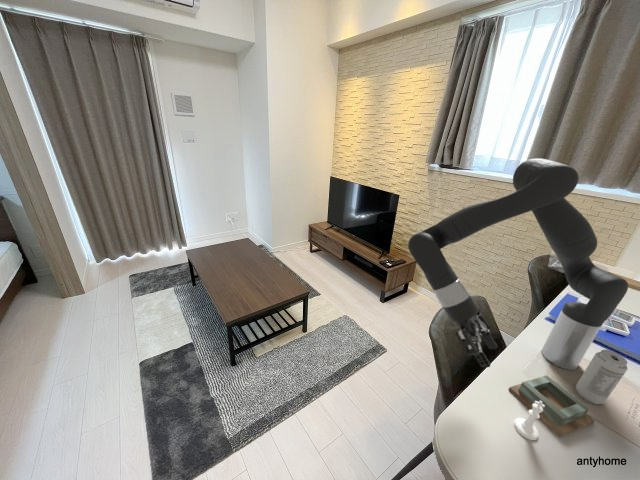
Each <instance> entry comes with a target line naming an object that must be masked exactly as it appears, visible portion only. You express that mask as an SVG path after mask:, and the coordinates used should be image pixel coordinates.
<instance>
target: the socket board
mask: <svg viewBox="0 0 640 480" xmlns="http://www.w3.org/2000/svg"><path fill="white" fill-rule="evenodd" d="M508 390H509V391H510V392H511V393H512V394H513V396H515V397H516V398H517V399H518V400H519V401H520V402H521V403H522V404H523V405H524V406H526V408H527V409H529V410H532V404H533V403H535V400H536V401H538V402H539V401H542V404H544V405H545V407H542V406H541V407H542V408H543V412H541V413H539V416H540V418H539V419H538V420H540V421H542V423H544V424H545V425H546V426H547V427H548V428H549V429H550V430H551V431H552V432H553V433H554V434H555V435H556V436H558V438H559V437H563V436H565V435H567V434H570V433H572V432H574V431H576V430H579V429H583V428H584V427H586V426H589V425H592V424H594V423H595V419H594V418H593V417H591V416H590V415H589V414H588V413H589V411H590V409H591V408H590V407H589V406H587V404H585V403H584V402H582V400H580V399H578V398H577V397H576V396H574V394H572V393H570V392H569V390H567V389H566V388H564V387H563V386H562V385H561V384H559V383H558V382H557V381H555V380H554V379H553V378H552V377H550V376H549V375H548V374H547V375H544V376H540V377H537V378H533V379H530V380H526V381H523V382H521V383H518V384H515V385H512V386H510V387H509V388H508Z"/></svg>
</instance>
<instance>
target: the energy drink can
mask: <svg viewBox="0 0 640 480" xmlns="http://www.w3.org/2000/svg"><path fill="white" fill-rule="evenodd" d="M627 365H628V360H627V359H626V358H625V357H623V356H622V355H620V354H619V353H617V352H615V351H612V350H609V349H602V350H601V351H599V352H598V351H597V352H596V353H595V354H594V355H593V357H592V358H591V360H590V362H589V363H588V366H587V367H586V368H585V370H584V371H583V373H582V375H581V377H580V379H579V380H578V382H577V383H576V384H575V389H576V392H577V394H578V396H580V397H581V398H582V397H583V398H584V399H583V398H582V399H583V400H585V399H586V400H585V401H587V400H588V401H590V402H592V403H591V404H593V403H596V404H595V405H603V404H605V402H606V401H607V399H608V398H609V397H610V395H611V394H612V393H613V391H614V389H615V388H616V386H617V385H618V384H619V382H620V380H621V379H622V378H623V377H624V375H625V374H626V372H627V371H628V366H627ZM588 401H587V402H588ZM590 402H589V403H590Z"/></svg>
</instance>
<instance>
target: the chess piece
mask: <svg viewBox="0 0 640 480" xmlns="http://www.w3.org/2000/svg"><path fill="white" fill-rule="evenodd" d="M541 406H542V407H545V405H544V404H542V401H539V402H538V401H536V400H535V403H533V404H532V410H530V409H529V410H528V412H527V413H528V414H529V416H528V417H527V418H523V417H516V418H515V419H514V420H513V427H514V428H515V430H516V431H517V433H518V434H519V435H521V436H522V437H524V438H526V439H528V440H530V441H537V440H538V438H539V431H538V429H537V428H536V426H535V425H534V423H535V420H536V419H537V420H540V419H539V418H540V416H539V413H541V412H543V408H542V407H541Z"/></svg>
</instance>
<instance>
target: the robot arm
mask: <svg viewBox="0 0 640 480" xmlns="http://www.w3.org/2000/svg"><path fill="white" fill-rule="evenodd" d="M578 183H579V173H578V172H577V170H576V168H574V167H572V166H570V165H568V164H565V163H561V162H558V161H554V160H550V159H546V158H529V159H527V160H525V161H523V162H522V163H520V164H519V165H518V166H517V168H516V169H515V170H514V173H513V175H512V185H513V188H514V189H515V191H514V192H512V193H509V194H506V195H504V196H501V197H499V198H495V199H492V200H487V201H483V202H480V203H479V202H477V203H475V204H472V205H469V206H467V207H466V206H465V207H464V208H461V209H459V210H458V211H456V212H454V213H451V214H450V215H449V216H447V217H445V218H443V219H442V220H440V221H439V222H438V223H436V224H435V225H432V226H430V227H427V228H426V229H424V230H422V231H420V232H418V233H415V234H413V235H412V236H411V237H410V239H409V240H408V243H407V245H408V246H407V248H408V250H409V253H410V255H411V256H412V258H413V259H414V261H415V262H416V263H417V265H418V266H419V268H420V269H421V271H422V272H423V275H424V277H425V278H426V279H425V280H426V281H427V282H428V284H429V285H430V287H431V289H432V290H433V292H434V294H435V297H436V298H437V300H438V302H439V304H440V306H441V307H442V309H443V310H444V312H445V313H446V315H447V317H448V319H449V321H451V322H453V323H457V324H458V326H459V330H457V331H455V335H456V337H457V339H458V341H459V343H460V344H461V347H462V348H463V350H464V352H465V353H466V355H467V356H472V355H473V356H474V357H475V359H476V361H477V363H478V364H479V366H480V368H484V369H485V368H490V367H491V364H492V363H491V362H490V360H489V359H488V357H487V355H486V354H485V352H484V351H483V349H482V346H481V343H482V340H483V341H484V344H485V345H486V346H487V348H488V349H489V350H496V349H497V348H498V346H499V345H498V344H497V342H496V341H495V340H494V338H493V336H492V334H491V330H490V329H491V325H490V323H489V321H488V320H487V319H486V317H485V316H484V314H483V313H482V311H481V310H480V308H479V307H478V305H477V304H476V302H475V301H474V299H473V298H472V296H471V294H470V293H469V291H468V289H467V288H466V286H465V285H464V283H463V282H461V280H460V279H459V277H458V276H457V274H456V272H455V271H454V270H453V268H452V266H451V265H450V264H449V263H448V261H447V260H446V257H445V256H444V254H443V252H442V250H441V249H444V248H445V247H447V246H449V245H453V244H455V243H458V242H460V241H462V240H465V239H466V238H468V237H471V236H472V235H474V234H476V233H478V232H480V231H482V230H484V229H487V228H488V227H490V226H493V225H495V224H498V223H500V222H501V223H502V222H503V221H506V220H508V219H511V218H514V217H518V216H520V215H523V214H526V213H529V212H532V213H533V215H534V218H535V220H536V221H537V223H538V226H539V227H540V229H541V230H542V233H543V235H544V237H545V239H546V240H547V243H548V245H549V246H550V248H551V249H552V251H553V252H554V253H555V256H556V258H557V259H558V261H559V263H560V265H561V266H562V270H563V271H564V275H565V278H566V281H567V283H568V285H569V287H570V288H571V289H572V290H573V291H574V292H576V293H577V294H579V295H581V296H583V297H584V298H587V299H588V302H587V303H584V302H580V301H567V302H565V303H564V305H563V306H562V309H561V311H560V312H559V314H558V317H557V319H556V320H555V323H554V324H553V326H552V329H551V331H550V332H549V335H548V336H547V338H546V340H545V342H544V345H543V346H542V349H541V351H540V352H541V354H542V355H543V357H544V358H545V359H546V360H547V361H549V362H550V363H551V364H553V365H555V366H557V367H558V368H559V367H560V368H562V369H565V370H568V371H569V370H570V371H575V370H576V369H577V368H578V367H579V365H580V363H581V362H582V360H583V358H584V356H585V355H586V354H587V351H588V350H589V348H590V347H591V345H592V343H593V341H594V340H595V338H596V336H597V335H598V333H599V331H600V329H601V328H602V326H603V324H604V323H605V322H606V321H607V320H608V319H609V318H610V317H611V316H612V314H613V313H614V311H615V310H616V309H617V307H618V306H619V305H620V303H621V302H622V300H623V298H624V297H625V296H626V295H627V292H628V290H629V284H628V281H627V280H626V279H625V278H623V277H620V276H619V275H616V274H614V273H611V272H609V271H607V270H604V269H602V268H600V267H598V266H597V265H595V264H594V263H593V261H592V260H591V258H590V257H591V255H592V254H593V253H594V252H596V249H597V248H598V239H597V236H596V233H595V232H594V229H593V227H592V225H591V224H590V222H589V221H588V219H587V218H586V217H585V216H584V215H583V214H582V213H581V212H580V211H579V210H578V209H577V208H576V207H575V206H574V205H572V203H570V201H568V200H567V199H566V197H567V196H569V195H570V194H571V193H572V192H573V191H574V190H575V189H576V187H577V185H578Z"/></svg>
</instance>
